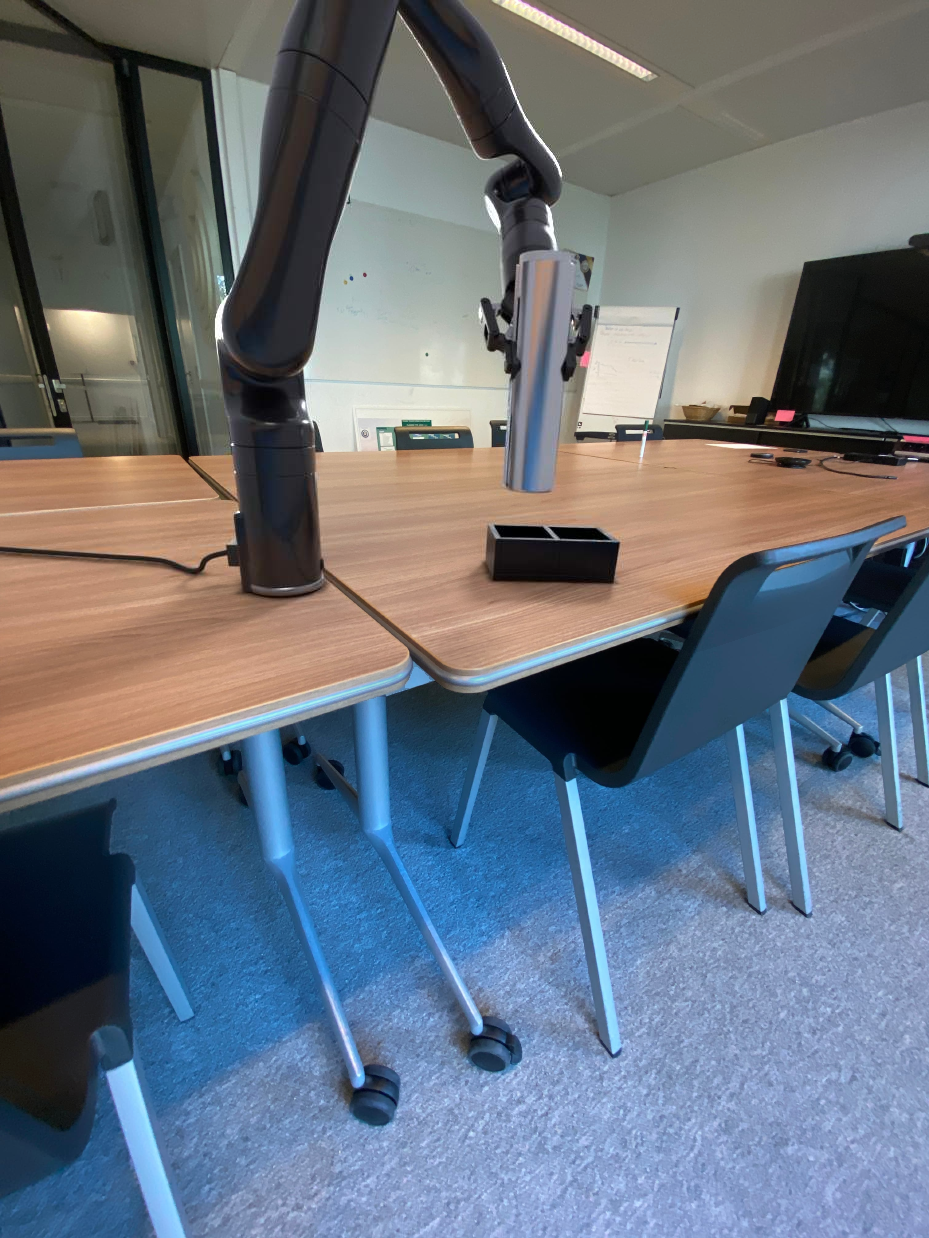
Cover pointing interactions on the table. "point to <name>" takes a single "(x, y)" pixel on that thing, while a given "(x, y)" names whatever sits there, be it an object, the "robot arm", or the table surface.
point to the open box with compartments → (551, 553)
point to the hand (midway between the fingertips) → (541, 374)
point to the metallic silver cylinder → (538, 369)
